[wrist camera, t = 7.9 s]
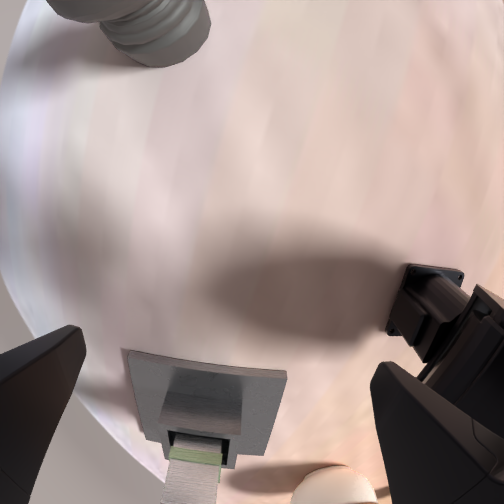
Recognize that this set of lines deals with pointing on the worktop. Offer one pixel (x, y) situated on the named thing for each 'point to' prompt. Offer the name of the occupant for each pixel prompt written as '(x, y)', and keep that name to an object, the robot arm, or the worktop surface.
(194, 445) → the grey tall block
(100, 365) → the worktop surface
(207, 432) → the stand base
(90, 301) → the worktop surface
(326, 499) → the lidded bowl
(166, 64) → the candle holder
